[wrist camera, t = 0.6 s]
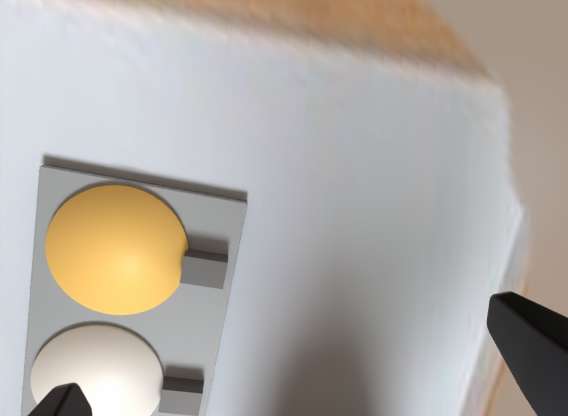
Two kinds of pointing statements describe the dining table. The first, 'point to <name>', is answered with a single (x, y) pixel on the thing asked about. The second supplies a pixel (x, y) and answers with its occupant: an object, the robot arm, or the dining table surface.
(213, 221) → the board
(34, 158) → the dining table surface
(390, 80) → the dining table surface
